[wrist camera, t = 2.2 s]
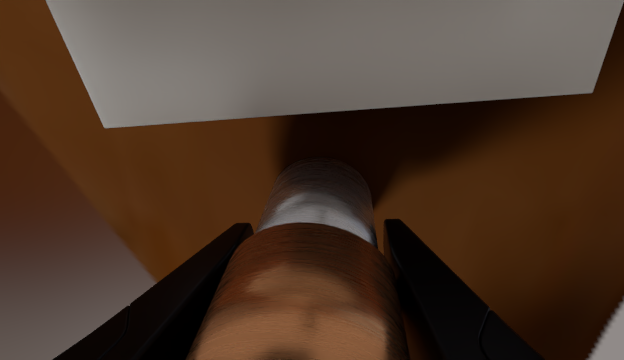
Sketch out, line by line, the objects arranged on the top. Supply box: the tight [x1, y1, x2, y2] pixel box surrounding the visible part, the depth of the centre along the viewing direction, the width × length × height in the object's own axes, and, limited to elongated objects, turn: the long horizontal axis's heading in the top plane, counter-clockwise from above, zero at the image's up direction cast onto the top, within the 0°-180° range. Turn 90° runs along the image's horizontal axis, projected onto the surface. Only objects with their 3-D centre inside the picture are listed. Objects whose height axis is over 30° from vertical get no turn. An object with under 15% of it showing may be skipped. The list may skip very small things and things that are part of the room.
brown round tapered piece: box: [185, 157, 410, 360], centre depth 7 cm, size 4×4×6 cm
